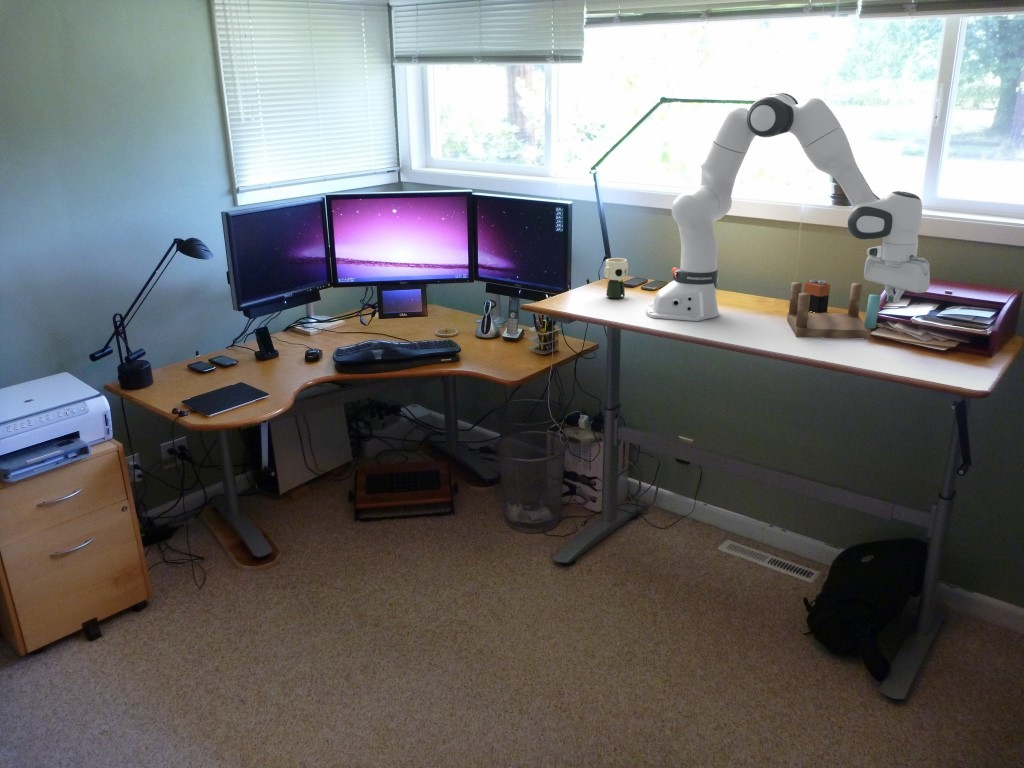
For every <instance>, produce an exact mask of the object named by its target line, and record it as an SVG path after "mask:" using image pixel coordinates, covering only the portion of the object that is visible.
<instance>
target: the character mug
mask: <svg viewBox="0 0 1024 768" xmlns="http://www.w3.org/2000/svg"><path fill="white" fill-rule="evenodd" d="M628 272H629V264H628V259H626V258H620V257H612V258H607V259H605V267H604V269H603V276H604V277H605V278H606V279H607V280H608V282H607V287H606V294H605V296H607V297H609V298H611V299H621V298H622V297H623V298H624V297H625V296H626V295H625V283H624V280H625V279H627V276H628Z"/></svg>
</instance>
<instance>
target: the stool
mask: <svg viewBox="0 0 1024 768" xmlns="http://www.w3.org/2000/svg"><path fill="white" fill-rule="evenodd" d="M850 285H851V286H850V293H849V294H850V295H849V303H848V310H847V313H836V312H835V313H833V312H832V313H831V312H830V313H829V312H825V313H812V312H808V311H809V302H810V294H809V293H803V292H802V291H803V290H802V288H803V283H802V282H799V281H793V282H791V285H790V286H791V287H790V295H789V296H790V297H789V306H788V307H789V308H788V311H787V316H786V320H787V323H788V325H789V326H790V328H791V330H792V332H793V335H795V338H817V339H818V338H821V339H822V337H824V339H828V338H829V339H852V338H864V339H863V340H868V339H867V338H870V339H871V334H872V329H871V328H866V327H864V323H865V321H864V320H863V319H862V318H861V317H860V316H859V315H860V309H861V308H860V307H861V300H862V291H863V283H860V282H859V283H858V282H853V283H851V284H850Z"/></svg>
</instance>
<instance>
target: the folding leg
mask: <svg viewBox="0 0 1024 768" xmlns="http://www.w3.org/2000/svg"><path fill="white" fill-rule="evenodd" d="M880 303H881V295H879V294H873V293H872V294H869V295H868V300H867V305H866V306H867V307H866V310H865V311H866V313H865V318H864V327H866V328H869V329H876V326H877V319H878V315H879V308H880Z"/></svg>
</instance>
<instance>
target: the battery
mask: <svg viewBox="0 0 1024 768" xmlns="http://www.w3.org/2000/svg"><path fill="white" fill-rule="evenodd" d="M830 284H831V283H826V281H825V280H818V281H817V280H816V279H814V278H811V279H810V280H809V281H805V282H804V285H803V292H802V293H809V294H810V302H809V311H812V312H815V313H822V312H825V313H828V306H829V300H830V299H829V297H830V290H831V285H830ZM812 312H811V313H812Z"/></svg>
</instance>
